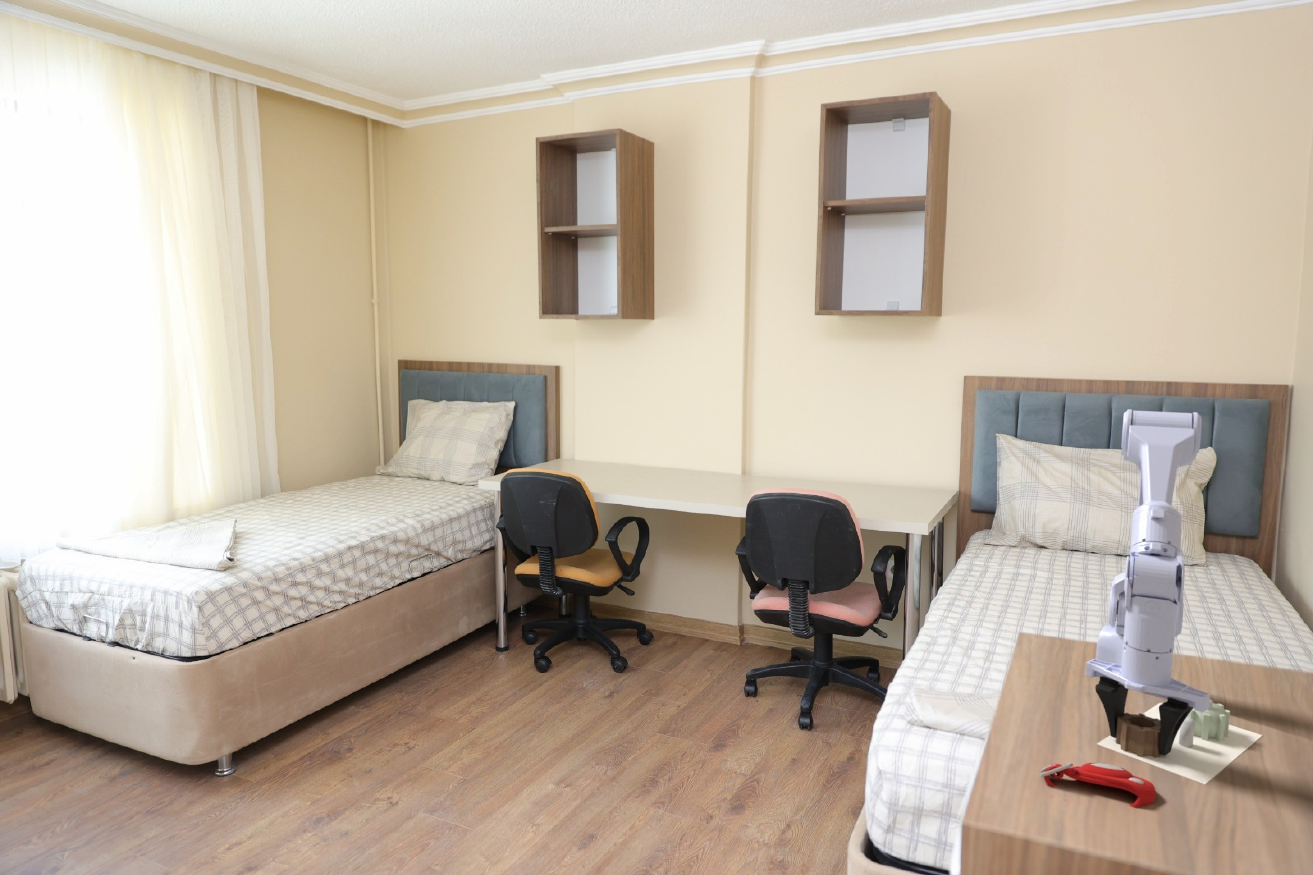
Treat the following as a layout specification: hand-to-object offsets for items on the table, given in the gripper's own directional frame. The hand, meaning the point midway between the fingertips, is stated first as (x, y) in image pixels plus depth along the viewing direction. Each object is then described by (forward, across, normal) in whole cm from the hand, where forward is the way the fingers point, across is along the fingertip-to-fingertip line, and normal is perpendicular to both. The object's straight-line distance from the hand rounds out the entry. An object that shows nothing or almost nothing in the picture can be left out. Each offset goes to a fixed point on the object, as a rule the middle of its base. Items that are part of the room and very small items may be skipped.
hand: (1140, 743), depth 116 cm
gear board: (+2, +2, +6) cm, 7 cm away
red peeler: (+2, 0, -13) cm, 14 cm away
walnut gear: (0, 0, 0) cm, 0 cm away
